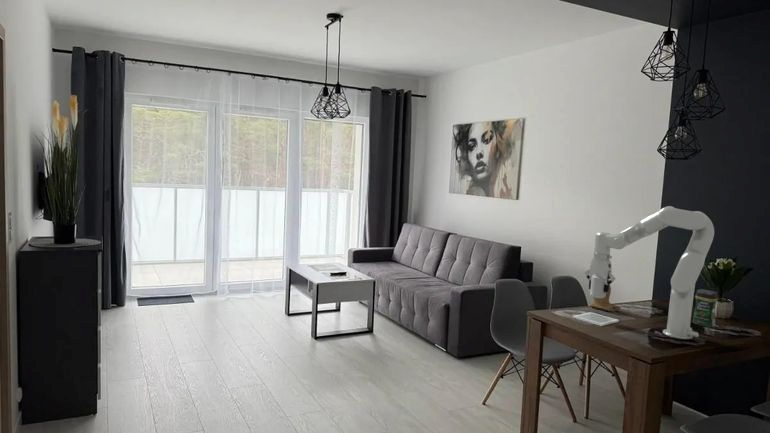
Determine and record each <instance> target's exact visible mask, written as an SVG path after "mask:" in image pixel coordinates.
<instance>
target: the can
mask: <svg viewBox="0 0 770 433" xmlns="http://www.w3.org/2000/svg"><path fill="white" fill-rule="evenodd" d="M604 285H605V282H604V279H603V278H602V277H601V275H596V274H594V275H593V276H592V279H591V289H589V290H590V291H589V292H590V293H589V296H591V297H592V298H593V297H595V298H604V297H605V296H606V293H604V292H603V291H604Z"/></svg>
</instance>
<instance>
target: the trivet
mask: <svg viewBox="0 0 770 433" xmlns="http://www.w3.org/2000/svg"><path fill="white" fill-rule="evenodd" d="M572 318H573V319H575V318H576V320H579V321H583V322H585V323H590V324H594V325H597V326H600V327H604V326H607V325H611V324H615V323H619V322H620V321H619V319H617V318H613V317H609V316H606V315H601V314H598V313H595V312H591V311H589V312H585V313H581V314H575V315H572Z"/></svg>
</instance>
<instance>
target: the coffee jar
mask: <svg viewBox="0 0 770 433" xmlns="http://www.w3.org/2000/svg"><path fill="white" fill-rule="evenodd" d="M718 296H719V295H718V292H717V291H714V290H713V291H712V290H710V289H709V290H708V289H703V288H700V289H699V288H698V289H697V290H696V293H695V296H694V298H695V306H694V307H695V308H694V312H693V317H692V320H691V322H692V323H693V324H694V325H697V326H700V327H704V326H705V328H714V326H715V325H716V324H715V321H716V314H715V313H716V305H717V302H718V300H719V299H718Z"/></svg>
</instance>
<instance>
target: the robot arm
mask: <svg viewBox="0 0 770 433" xmlns="http://www.w3.org/2000/svg"><path fill="white" fill-rule="evenodd" d="M667 227H675V228H679V229H685V230H689V231H692V235H691V237H690V240H689V243H688V245H687V247H686V249H685V251H683V253H682V255H681V257H680V258H679V261H678V263H677V264H676V268H675V269H674V272H673V274H672V276H671V278H670V287H671V289H670V295H669V296H670V298H669V304H668V305H669V306H668V315H667V323H666V328H665V329H663V330H662V334H664V335H665V336H668V337H671V338H674V339H675V338H676V339H681V340H690V339H691V340H692V339H693V338H694V337H695V338H698V337H699V332H697V331H694V330H693V327H691V322H692V319H691V318H692V313H693V303H694V297H695V296H694V294H695V287H696V282H697V281H698V278H699V276H700V274H701V271H702V269H703V267H704V264H705V259H706V257H707V255H708V252H709V250H710V248H711V245H712V243H713V240H714V236H715V227H714V224H713V222H712V220H711V219H710V218H709V217H708V215H706V214H705V213H704V212H702V211H700V210H699V211H698V210H695V211H694V210H693V211H691V210H686V209H680V208H676V207H674V206H671V205H668V206H665V207H662V208H661V209H659V210H656V211H655V212H653V213H652V214H649V215H648V216H645V217H643V218H642V219H640V220H639V221H638V222H636V223H635V224H634V225H631V226H630V227H628V228H626V229H625V230H623V231H620V232H619V233H616V234H613V233H612V234H611V233H610V232H605V231H604V232H603V231H602V232H601V231H599V232H596V234H595V238H594V248H593V249H594V250H593V257H592V258H591V261H590V265H589V269H588V270H586V271H585V272H584V274H585V276H586V278H587V280H588V289H589V290H591V279H592V276H593V275H594V274H596V275H601V277H602V278H603V279H604V282H605V285H604V291H603V292H604V293H606V292H608V290H609V285H610V286H611V284H612V283H613V282H614V281H615V280H616V277H615V276H614V275H613V274H612V273H613V272H612V271H613V270H612V269H613V268H612V260H610V259H612V258H613V256H612V255H611V249H614V250H622V249H625V247H627V246H630V245H631V244H633V243H635V242H637V241H639V240H641V239H643V238H647V237H650V236H652V235H654V234H656V233H657V232H660V231H661V230H664V229H666V228H667Z"/></svg>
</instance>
